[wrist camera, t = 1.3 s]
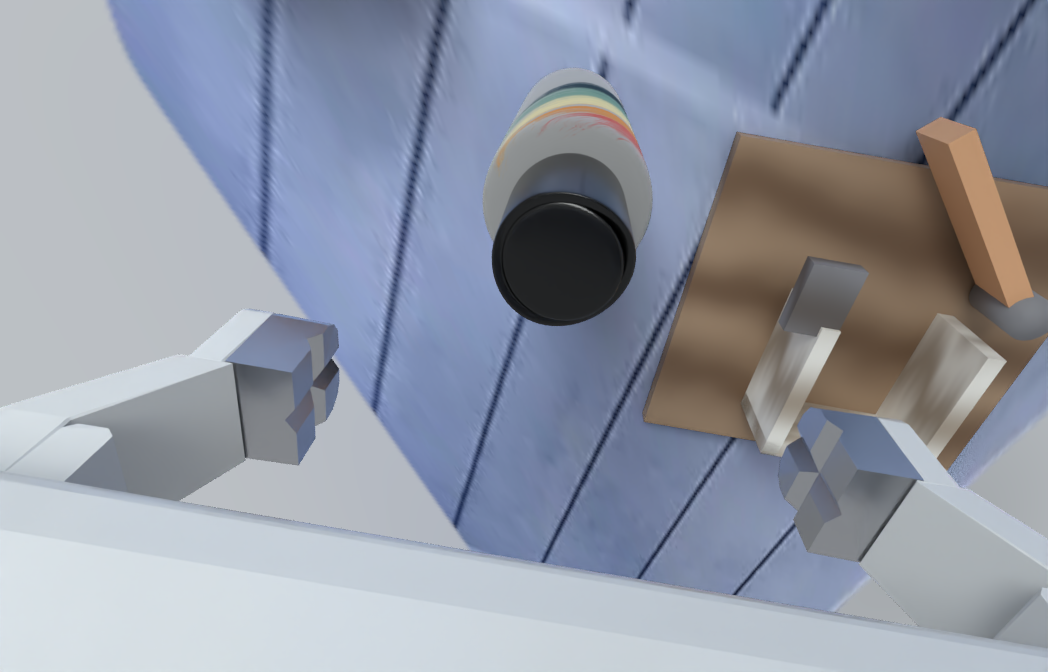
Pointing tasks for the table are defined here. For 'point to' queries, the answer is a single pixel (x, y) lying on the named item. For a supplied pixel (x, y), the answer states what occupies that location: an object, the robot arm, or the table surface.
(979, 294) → the arm
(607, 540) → the table surface
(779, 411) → the cradle
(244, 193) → the table surface
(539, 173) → the lotion bottle
